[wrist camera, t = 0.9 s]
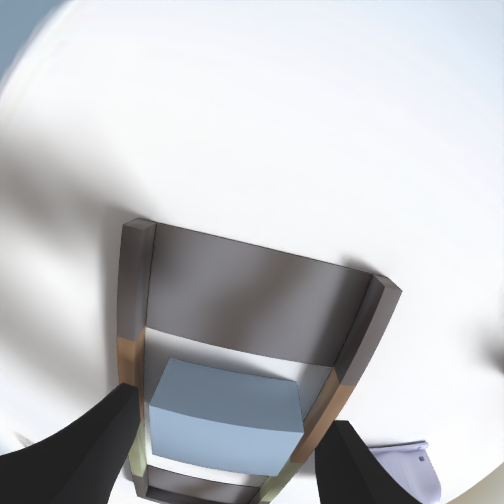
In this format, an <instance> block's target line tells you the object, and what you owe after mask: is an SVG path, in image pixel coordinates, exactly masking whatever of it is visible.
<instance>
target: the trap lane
mask: <svg viewBox="0 0 504 504" xmlns="http://www.w3.org/2000/svg"><path fill="white" fill-rule="evenodd" d="M155 229H156V222H152V221H148V220H143V219H139V218H137V219H135V220H133V221H130V222H128V223H126V224H124V225H123V228H122V237H121V247H120V259H119V274H118V295H117V352H118V373H119V384H121V383H126V384H129V385H132V386H136V387H138V392H139V405H140V417H141V421H140V424H139V428H138V431H137V434H136V437H135V440H134V443H133V445H132V447H131V449H130V451H129V453H128V456H129V462H130V467H131V472H132V477H133V481H134V485H135V490H136V494H137V496H138V497H141V498H144V499H147V500H150V501H154V502H157V503H161V504H269V503H270V502H271V501H272V500H273V499H274V498H275V497H276V496H277V495H278V493H279V492H280V491H281V490H282V489H283V488H284V487H285V485H286V484H287V483H288V482H289V481H290V480H291V478H292V477H293V476H294V475H295V473H296V472H297V471H298V470H299V469H300V467H301V466H302V465H303V464H304V462H305V461H306V460H307V458H308V457H309V456H310V454H311V453H312V452H313V450H314V449H315V448H316V446H317V445H318V444H319V442H320V441H321V439H322V438H323V436H324V435H325V433H326V431H327V430H328V428H329V427H330V425H331V424H332V422H333V420H335V419H336V417H337V416H338V414H339V413H340V411H341V410H342V408H343V406H344V405H345V403H346V402H347V400H348V398H349V397H350V395H351V393H352V392H353V390H354V388H355V387H356V385H357V383H358V381H359V380H360V378H361V376H362V374H363V373H364V371H365V369H366V367H367V365H368V363H369V362H370V360H371V358H372V356H373V354H374V352H375V350H376V348H377V346H378V344H379V342H380V340H381V338H382V336H383V334H384V332H385V330H386V327H387V325H388V323H389V321H390V319H391V316H392V314H393V312H394V310H395V307H396V305H397V303H398V300H399V298H400V295H401V293H402V290H401V289H400V288H399V287H398V286H397V285H396V284H395V283H393V282H392V281H391V280H390V279H389V278H386V277H382V276H378V275H374V274H373V275H372V274H370V273H366V272H362V271H358V270H354V269H350V268H346V267H342V266H337V265H333V264H329V263H325V262H321V261H317V260H313V259H309V258H305V257H300V256H296V255H292V254H288V253H284V252H280V251H275V250H271V249H267V248H263V247H259V246H254V245H250V244H246V243H242V242H238V241H233V240H229V239H225V238H221V237H216V236H212V235H208V234H204V233H199V232H195V231H191V230H187V229H182V228H178V227H174V226H169V225H165V224H161V223H157V230H156V237H155V244H154V251H153V243H154V236H155ZM152 251H153V259H152ZM151 259H152V268H151V277H150V286H149V276H150V267H151ZM371 275H372V277H371ZM370 278H371V280H370ZM369 281H370V283H369ZM368 284H369V285H368ZM148 286H149V297H148ZM367 286H368V288H367ZM366 289H367V291H366ZM365 291H366V293H365ZM364 294H365V296H364ZM147 297H148V309H147ZM363 297H364V298H363ZM362 299H363V301H362ZM361 302H362V303H361ZM360 304H361V306H360ZM359 307H360V308H359ZM146 309H147V323H146ZM358 309H359V311H358ZM357 312H358V313H357ZM356 314H357V316H356ZM355 316H356V318H355ZM354 319H355V320H354ZM353 321H354V323H353ZM145 323H146V327H148V328H151V329H155V330H158V331H161V332H165V333H168V334H172V335H175V336H179V337H183V338H186V339H190V340H194V341H198V342H202V343H206V344H210V345H214V346H219V347H223V348H227V349H232V350H236V351H241V352H246V353H251V354H256V355H261V356H266V357H271V358H277V359H283V360H289V361H295V362H301V363H308V364H314V365H322V366H329V367H333V368H332V370H331V372H330V374H329V376H328V378H327V380H326V382H325V384H324V386H323V388H322V390H321V392H320V394H319V395H318V397H317V399H316V401H315V403H314V405H313V406H312V408H311V410H310V412H309V413H308V415H307V417H306V419H305V420H304V422H303V428H304V434H303V436H302V437H301V439H300V441H299V442H298V444H297V446H296V447H295V449H294V451H293V452H292V454H291V455H290V457H289V459H288V460H287V462H286V463H285V465H284V466H283V468H282V469H281V471H280V472H279V474H278V475H277V476H268V478H267V479H266V481H265V482H264V483H263V485H262V486H261V488H260V489H259V488H258V487H249V486H240V485H233V484H226V483H220V482H214V481H209V480H204V479H199V478H194V477H190V476H186V475H181V474H177V473H174V472H170V471H166V470H163V469H159V468H156V467H153V466H149V465H147V462H146V449H145V432H144V397H143V378H144V342H145ZM352 323H353V325H352ZM351 326H352V327H351ZM350 328H351V330H350ZM349 330H350V332H349ZM348 333H349V334H348ZM347 335H348V336H347ZM346 337H347V339H346ZM345 339H346V341H345ZM344 342H345V343H344ZM343 344H344V345H343ZM342 346H343V347H342ZM341 348H342V350H341ZM340 350H341V352H340ZM339 352H340V354H339ZM338 355H339V356H338ZM337 357H338V358H337ZM336 359H337V360H336ZM335 361H336V362H335ZM334 363H335V364H334ZM333 365H334V366H333ZM147 467H148V473H147ZM148 478H149V482H148ZM257 491H258V492H257ZM256 492H257V493H256ZM254 495H255V496H254ZM253 496H254V497H253ZM250 500H251V501H250Z"/></svg>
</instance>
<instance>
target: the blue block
mask: <svg viewBox="0 0 504 504" xmlns="http://www.w3.org/2000/svg"><path fill="white" fill-rule="evenodd" d="M149 417H150V433H151V446H152V454H153V455H157V456H160V457H164V458H167V459H171V460H175V461H179V462H183V463H187V464H192V465H197V466H201V467H207V468H212V469H218V470H224V471H230V472H237V473H245V474H255V475H266V476H277V475H278V474H279V472H280V471H281V469H282V468H283V466H284V465H285V463H286V462H287V460H288V459H289V457H290V455H291V454H292V452H293V451H294V449H295V447H296V446H297V444H298V442H299V441H300V439H301V437H302V436H303V434H304V428H303V421H302V414H301V407H300V400H299V393H298V386H297V382H296V381H288V380H280V379H273V378H266V377H260V376H254V375H248V374H242V373H237V372H232V371H226V370H221V369H217V368H212V367H207V366H203V365H198V364H194V363H190V362H186V361H182V360H178V359H174V358H170V359H169V361H168V363H167V365H166V368H165V370H164V372H163V374H162V376H161V379H160V381H159V383H158V386H157V388H156V390H155V392H154V395H153V397H152V399H151V402H150V404H149Z"/></svg>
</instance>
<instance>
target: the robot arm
mask: <svg viewBox="0 0 504 504" xmlns="http://www.w3.org/2000/svg"><path fill="white" fill-rule="evenodd" d="M140 421H141V417H140V405H139V392H138V387H136V386H132V385H129V384H126V383H121V384H119V385H118V386H117V387H116V388H115V389H114V390H113V391H112V392H111V393H109V394H108V395H107V396H106V397H105V398H104V399H103V400H101V401H100V402H99V403H98V404H97V405H95V406H94V407H93V408H91V409H90V410H89V411H88V412H86V413H85V414H84V415H82V416H81V417H80V418H78V419H77V420H75V421H74V422H72V423H71V424H70V425H68V426H67V427H65V428H64V429H62V430H60V431H59V432H57V433H55V434H53V435H52V436H50V437H48V438H46V439H44V440H42V441H40V442H38V443H35V444H33V445H31V446H29V447H26V448H23V449H21V450H18V451H15V452H11V453H8V454H4V455H1V456H0V504H107V503H108V500H109V497H110V493H111V490H112V488H113V485H114V483H115V481H116V479H117V476H118V474H119V472H120V470H121V468H122V466H123V464H124V462H125V460H126V457H127V455H128V453H129V451H130V449H131V447H132V445H133V443H134V440H135V437H136V434H137V431H138V428H139V424H140ZM428 445H429V444H428V442H424V443H418V444H411V445H403V446H394V447H384V448H370V449H368V447H367V446H366V445H365V443H364V442H363V441H362V439H361V438H360V437H359V435H358V434H357V432H356V431H355V430H354V428H353V427H352V425H351V424H350V423H349V421H345V420H333V422H332V424H331V425H330V427H329V428H328V430H327V431H326V433H325V435H324V436H323V438H322V439H321V441H320V442H319V444H318V445H317V447H316V448H315V472H316V479H317V485H318V491H319V497H320V503H321V504H438V503H439V501H440V497H441V485H440V482H439V479H438V477H437V475H436V472H435V470H434V468H433V466H432V464H431V461H430V459H429V457H428V455H427V453H426V451H425V449H426V448H427V447H428Z"/></svg>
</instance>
